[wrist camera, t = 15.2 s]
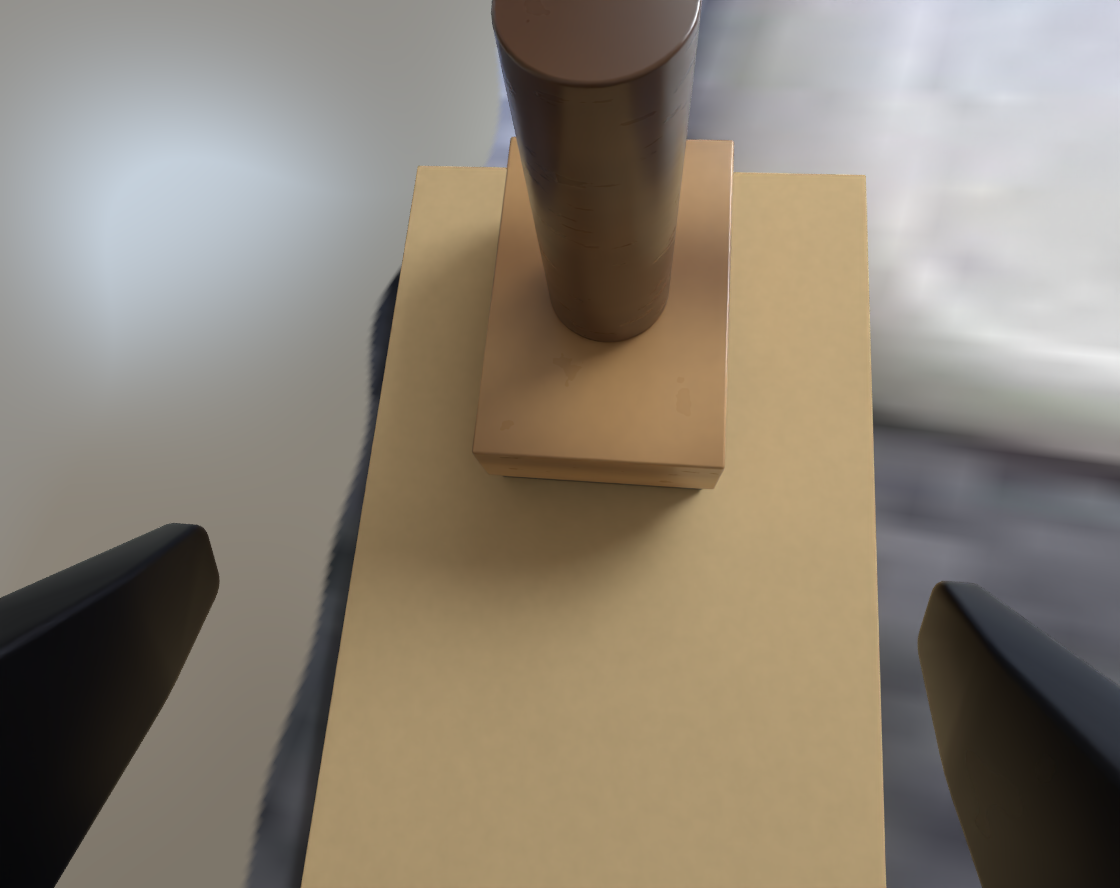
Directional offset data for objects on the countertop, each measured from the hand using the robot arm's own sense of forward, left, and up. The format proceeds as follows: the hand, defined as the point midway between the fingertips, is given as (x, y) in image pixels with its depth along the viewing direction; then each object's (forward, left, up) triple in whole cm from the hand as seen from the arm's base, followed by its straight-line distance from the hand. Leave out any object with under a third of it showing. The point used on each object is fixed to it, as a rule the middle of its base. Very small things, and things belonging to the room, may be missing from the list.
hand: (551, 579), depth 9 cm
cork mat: (+3, 0, -11) cm, 12 cm away
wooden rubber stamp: (+8, +1, -11) cm, 14 cm away
